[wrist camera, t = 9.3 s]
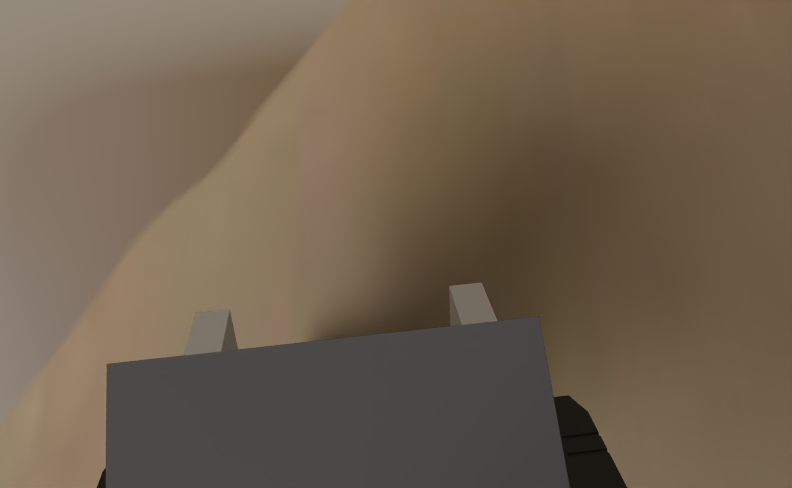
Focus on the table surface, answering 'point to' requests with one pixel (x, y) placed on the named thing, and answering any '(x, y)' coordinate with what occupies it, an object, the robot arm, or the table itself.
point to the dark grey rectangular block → (342, 414)
